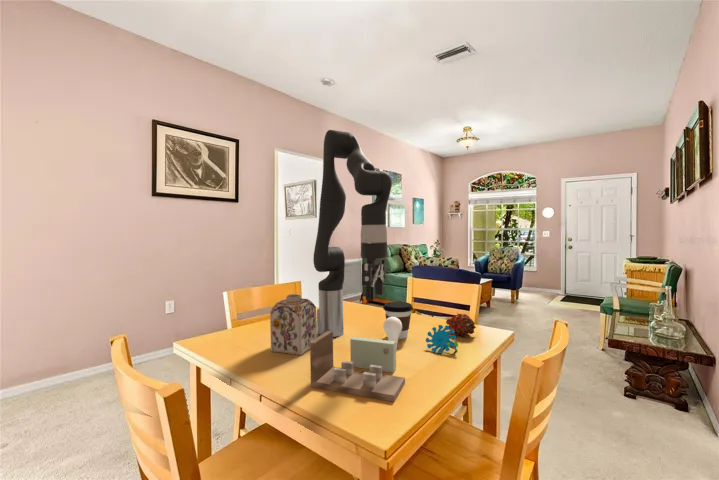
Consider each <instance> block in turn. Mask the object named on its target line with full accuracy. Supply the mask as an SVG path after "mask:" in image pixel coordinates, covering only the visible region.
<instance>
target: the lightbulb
mask: <svg viewBox="0 0 719 480" xmlns="http://www.w3.org/2000/svg"><path fill="white" fill-rule="evenodd" d="M383 330H384V332H385V334H386V336H387V341H396V350H397V348H398V341H399V339H398V336H399V334H400V332H401V330H402V323H401V321H400V320H399V319H398V318H396V317H389V318H387V319H386V318H385V320H384V323H383Z"/></svg>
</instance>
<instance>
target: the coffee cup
mask: <svg viewBox="0 0 719 480" xmlns="http://www.w3.org/2000/svg"><path fill="white" fill-rule="evenodd" d="M383 310H384V311H385V320H386V319H387V318H389V317H396V318H398V319H399V320H400V321H401V323H402V330H401V332H400V334H399V336H398V340H405V339H406V338H407V337H408V334H409V329H410V323H411V317H412V312H411V311H413V310H414V307H413V306H412V304H411V303H410V302H406V301H390V302H386V303H385V304H384V306H383Z"/></svg>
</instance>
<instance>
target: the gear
mask: <svg viewBox="0 0 719 480" xmlns="http://www.w3.org/2000/svg"><path fill="white" fill-rule="evenodd" d="M448 326H449V325H447V324H446V325H445V326H443V325H442V324H438V330H437V327H436V326H433V327H432V328H431V330H432V331H433V334H432V332H431V331H428V332H427V334H426V335H427V336H428V337H426V338H425V342H426V343H427V344H426V346H427V349H431V351H432V352H433V353H436V352H438V353H439V354H443V353H444V352H443V349H444V351H445V352H449V351H451V350H450V349H452V350H454V351H455V352H458V348H457V347H459V343H458V342H457V341H455V340H456V339H457V335H455V333H454V331H453V329H451V330H449V329H450V328H449V327H448ZM451 334H452V335H451ZM429 337H431V339H430V338H429ZM450 339H452V340H450Z"/></svg>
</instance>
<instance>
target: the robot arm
mask: <svg viewBox="0 0 719 480" xmlns="http://www.w3.org/2000/svg"><path fill="white" fill-rule="evenodd" d="M322 155H323V157H322V159H323V162H322V164H323V165H322V180H321V191H320V200H319V213H318V214H319V215H318V226H317V234H316V239H315V245H314V251H313V259H312V261H313V266H314V269H315V270H316V271H317V272H318V273H325V272H329V273H328V275H327V276H326V277H325V278H323V279H321V280H320V281H319V282H318V309H317V308H316V321H317V336H318V335H319V336H321V335H322V334H324V333H325V332H327V331H333V338H335V337H336V338H337V337H341V336H342V335H344V282H345V266H346V264H345V262H346V261H345V259H346V258H345V254H344V250H343V249H342V247H340V246H330V241H331V237H332V235H333V233H334V231H335V230H336V229H337V227H338V225H339V224H340V223H341V220H343V217H344V216H345V211H346V200H347V196H346V193H345V190H344V187H343V185H342V184H341V181H340V179H339V177H338V175H337V172H336V167H335V166H336V164H335V158H336V159H341V160H342V159H343V160H346V168H347V171H348V173H349V174H350V175H351V176H352V178H353V182H354V183H353V184H354V190H355V192H356V193H357V194H359V195H361V196H372V197H373V196H375V199H374V202H371V203H367V204H364V205H362V207H361V209H360V210H361V211H360V212H361V213H360V217H361V218H360V220H361V221H360V222H361V227H360V256H361V258H362V259H366V263H365V262H364V263H362V264H361V286H364V288H365V300H366V301H369V302H372V301H374V300H375V295H376V296H382V295H383V294H384V282H385V279H386V259H385V258H387V257H388V230H387V225H386V224H387V213H386V212H387V207H388V201H389V198H390V194H391V190H392V186H393V183H392V178H391V177H392V176H391V175H390V174H389V173H388V172H387V171H385V170H376V169H375V166H374V165H373V162H371V161H370V160H369V158H368V157H366V155H365V154H364V152H363V149H362V148H361V145H360V143H359V141H358V139H357V137H356V136H355V135H354V133H351V132H348V131H341V130H336V129H328V130H327V131H326V133H325V136H324V140H323V154H322Z"/></svg>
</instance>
